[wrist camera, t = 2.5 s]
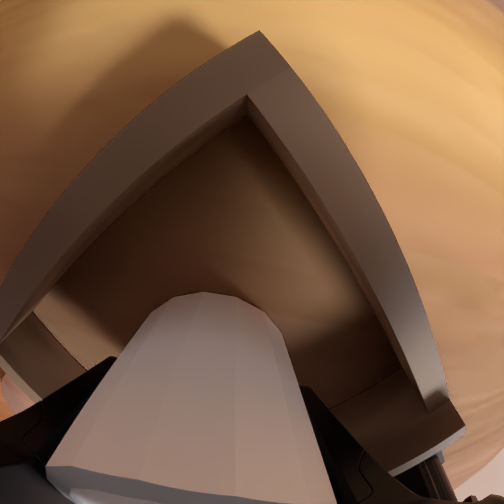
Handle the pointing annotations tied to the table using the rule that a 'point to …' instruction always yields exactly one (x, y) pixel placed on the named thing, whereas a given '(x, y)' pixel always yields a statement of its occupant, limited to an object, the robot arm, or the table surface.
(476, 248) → the table surface
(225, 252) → the table surface
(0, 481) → the robot arm
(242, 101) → the brown wooden square tray
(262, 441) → the white cup
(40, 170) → the table surface
